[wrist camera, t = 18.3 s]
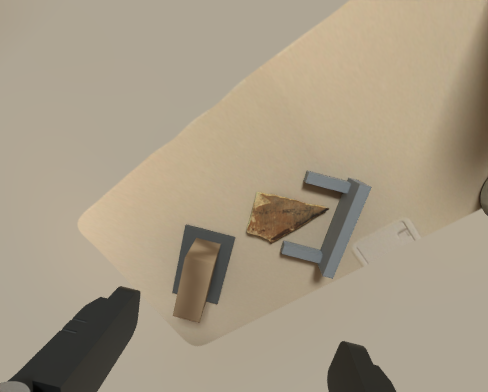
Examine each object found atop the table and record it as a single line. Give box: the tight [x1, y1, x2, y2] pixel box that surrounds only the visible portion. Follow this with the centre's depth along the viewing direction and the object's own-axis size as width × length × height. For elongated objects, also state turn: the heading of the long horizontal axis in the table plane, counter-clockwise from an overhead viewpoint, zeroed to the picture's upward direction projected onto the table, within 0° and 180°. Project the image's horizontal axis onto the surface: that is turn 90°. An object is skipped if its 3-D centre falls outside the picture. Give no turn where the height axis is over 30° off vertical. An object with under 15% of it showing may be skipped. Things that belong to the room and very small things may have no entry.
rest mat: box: [172, 225, 235, 304], centre depth 39 cm, size 8×13×1 cm, turn 166°
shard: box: [247, 192, 329, 243], centre depth 36 cm, size 11×8×2 cm
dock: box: [281, 171, 371, 279], centre depth 34 cm, size 8×14×4 cm, turn 166°
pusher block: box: [173, 238, 221, 323], centre depth 36 cm, size 4×10×6 cm, turn 166°
